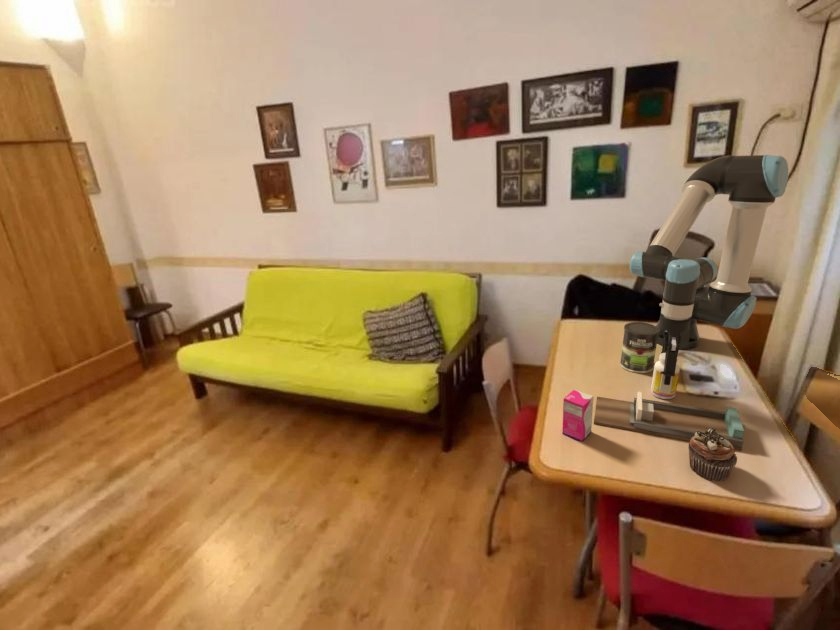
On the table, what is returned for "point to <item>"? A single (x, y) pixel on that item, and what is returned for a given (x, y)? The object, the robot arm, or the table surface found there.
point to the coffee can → (639, 347)
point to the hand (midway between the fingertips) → (663, 385)
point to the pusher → (643, 409)
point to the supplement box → (577, 415)
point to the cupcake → (711, 455)
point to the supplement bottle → (657, 377)
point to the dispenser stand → (670, 420)
